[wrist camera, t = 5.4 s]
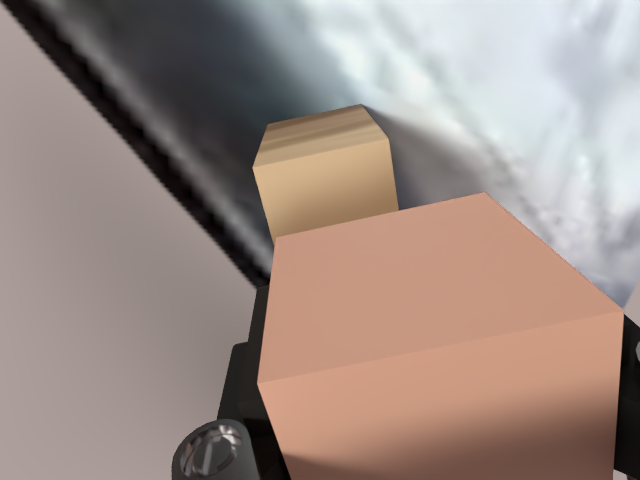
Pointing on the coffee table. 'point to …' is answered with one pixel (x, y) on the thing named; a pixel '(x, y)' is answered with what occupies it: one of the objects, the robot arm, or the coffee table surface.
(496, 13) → the coffee table surface
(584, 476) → the terracotta block
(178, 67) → the coffee table surface
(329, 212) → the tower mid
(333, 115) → the tower base
